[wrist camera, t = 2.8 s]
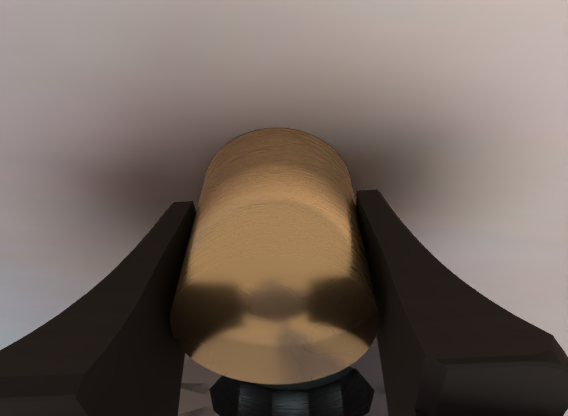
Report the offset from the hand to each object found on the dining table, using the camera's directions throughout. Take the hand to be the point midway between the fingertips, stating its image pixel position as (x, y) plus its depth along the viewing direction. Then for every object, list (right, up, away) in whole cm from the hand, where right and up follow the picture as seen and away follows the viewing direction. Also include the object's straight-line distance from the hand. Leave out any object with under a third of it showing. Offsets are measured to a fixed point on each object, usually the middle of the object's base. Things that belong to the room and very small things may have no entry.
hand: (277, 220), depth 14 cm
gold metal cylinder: (0, +1, +1) cm, 1 cm away
